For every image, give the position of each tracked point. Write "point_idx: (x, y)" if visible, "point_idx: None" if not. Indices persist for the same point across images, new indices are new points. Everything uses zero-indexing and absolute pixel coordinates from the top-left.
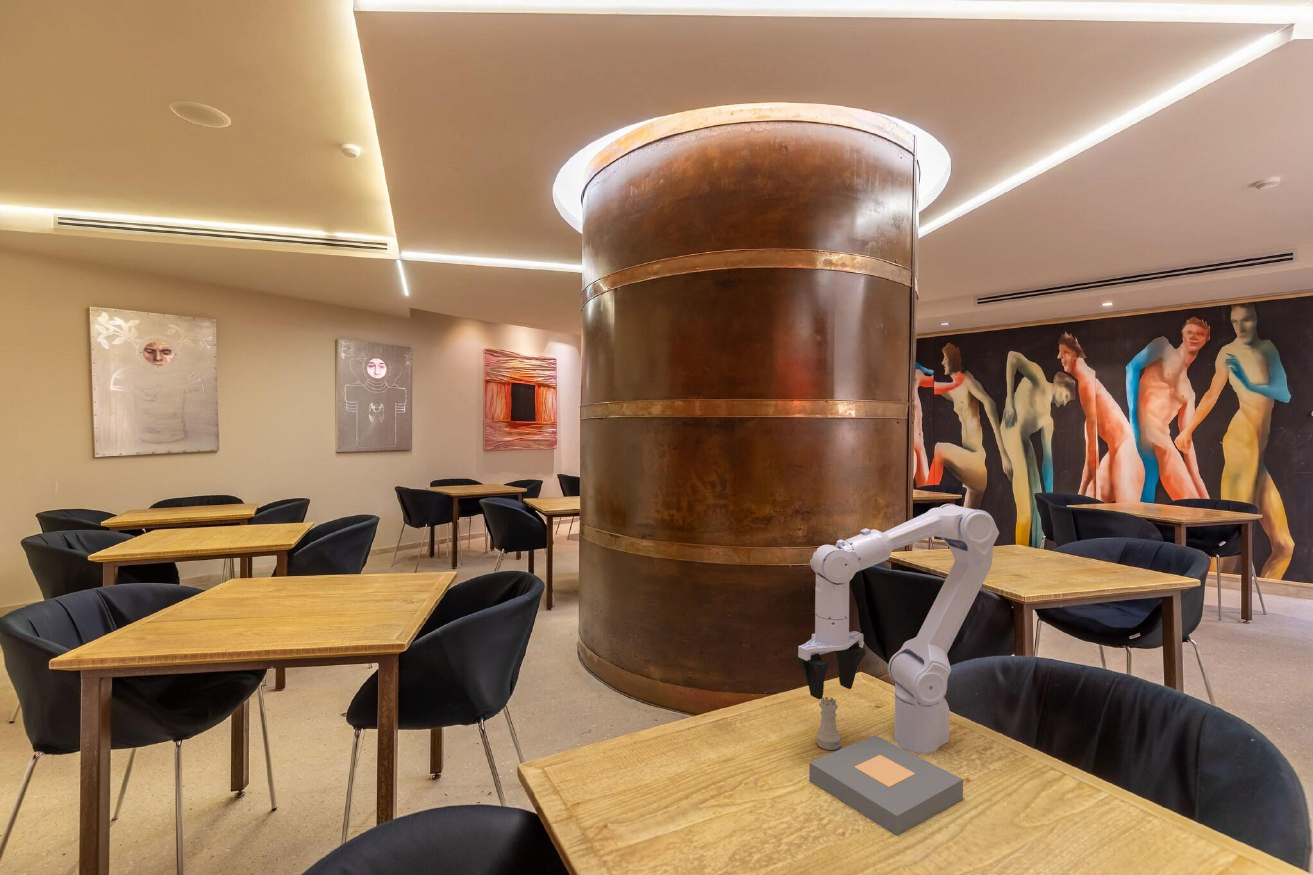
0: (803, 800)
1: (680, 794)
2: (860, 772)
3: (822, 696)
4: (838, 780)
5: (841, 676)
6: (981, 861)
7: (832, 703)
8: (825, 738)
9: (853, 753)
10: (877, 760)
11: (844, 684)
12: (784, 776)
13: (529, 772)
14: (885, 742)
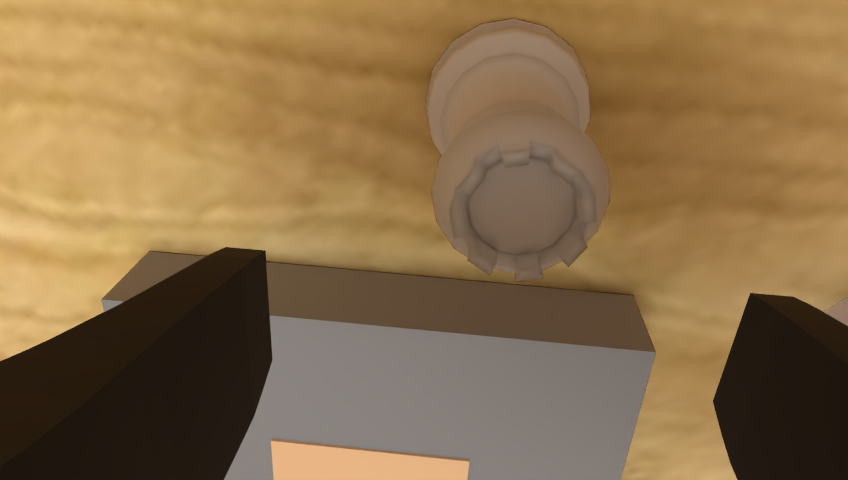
0: (39, 313)
1: None
2: (264, 470)
3: (263, 383)
4: None
5: (804, 376)
6: None
7: (525, 247)
8: (440, 144)
9: (373, 381)
10: (411, 474)
11: (741, 366)
12: (62, 155)
13: None
14: (614, 423)
